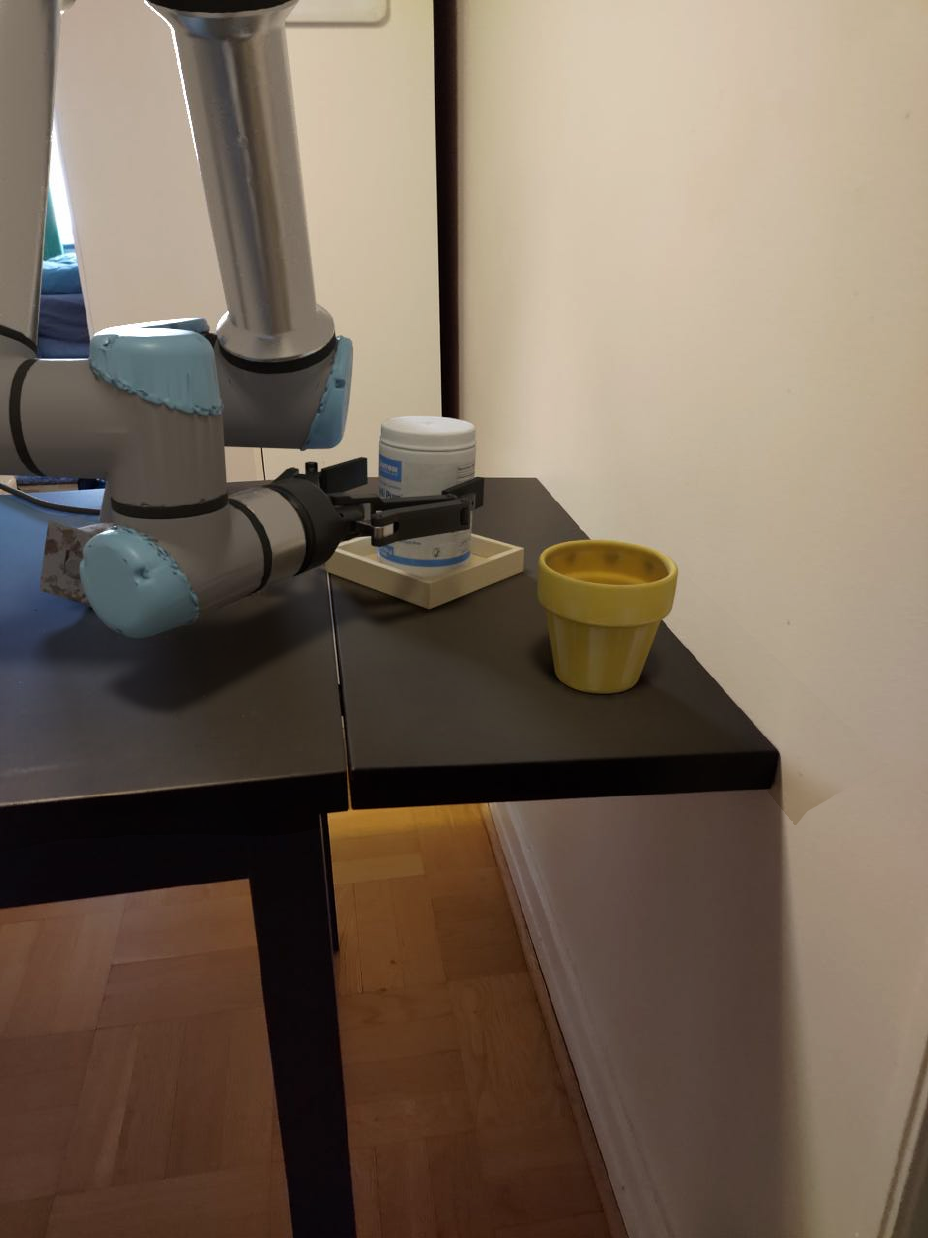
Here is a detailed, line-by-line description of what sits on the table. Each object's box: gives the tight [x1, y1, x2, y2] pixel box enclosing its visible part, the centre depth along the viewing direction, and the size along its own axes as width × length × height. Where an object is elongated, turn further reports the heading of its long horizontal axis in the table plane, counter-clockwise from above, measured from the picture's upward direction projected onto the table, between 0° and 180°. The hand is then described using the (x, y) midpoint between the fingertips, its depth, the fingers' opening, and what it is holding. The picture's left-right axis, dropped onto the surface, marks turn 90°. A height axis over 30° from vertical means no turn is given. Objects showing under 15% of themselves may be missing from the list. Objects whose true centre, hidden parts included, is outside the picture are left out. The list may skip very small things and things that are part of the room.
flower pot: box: [536, 539, 679, 695], centre depth 66 cm, size 10×10×10 cm
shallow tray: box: [324, 532, 525, 610], centre depth 88 cm, size 15×15×3 cm
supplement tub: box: [377, 415, 477, 579], centre depth 85 cm, size 10×10×15 cm
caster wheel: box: [39, 520, 114, 608], centre depth 80 cm, size 7×11×10 cm
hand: (420, 480), depth 84 cm, fingers open, 13 cm apart
